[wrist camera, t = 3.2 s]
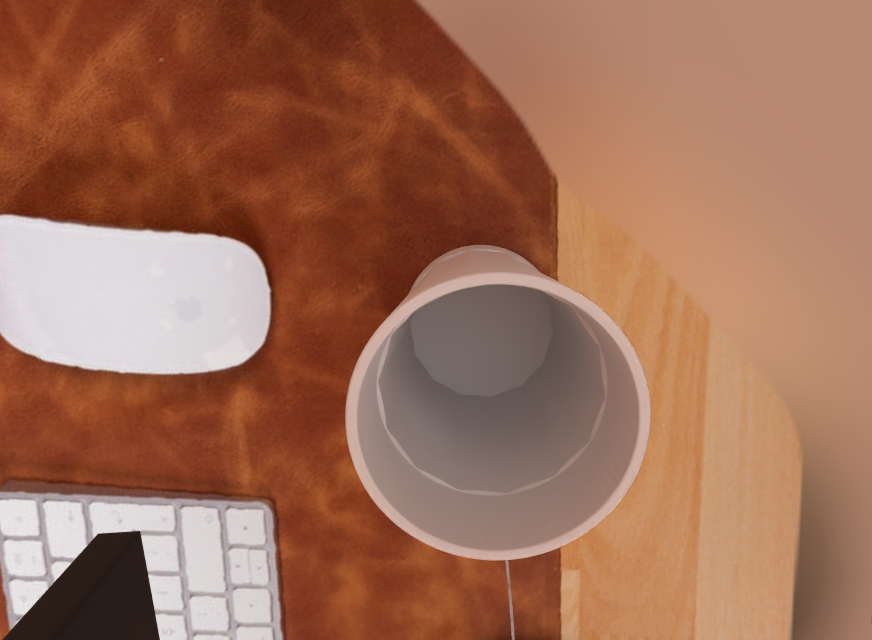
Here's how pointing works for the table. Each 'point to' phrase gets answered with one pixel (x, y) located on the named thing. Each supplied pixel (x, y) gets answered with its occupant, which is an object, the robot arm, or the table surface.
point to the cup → (496, 409)
